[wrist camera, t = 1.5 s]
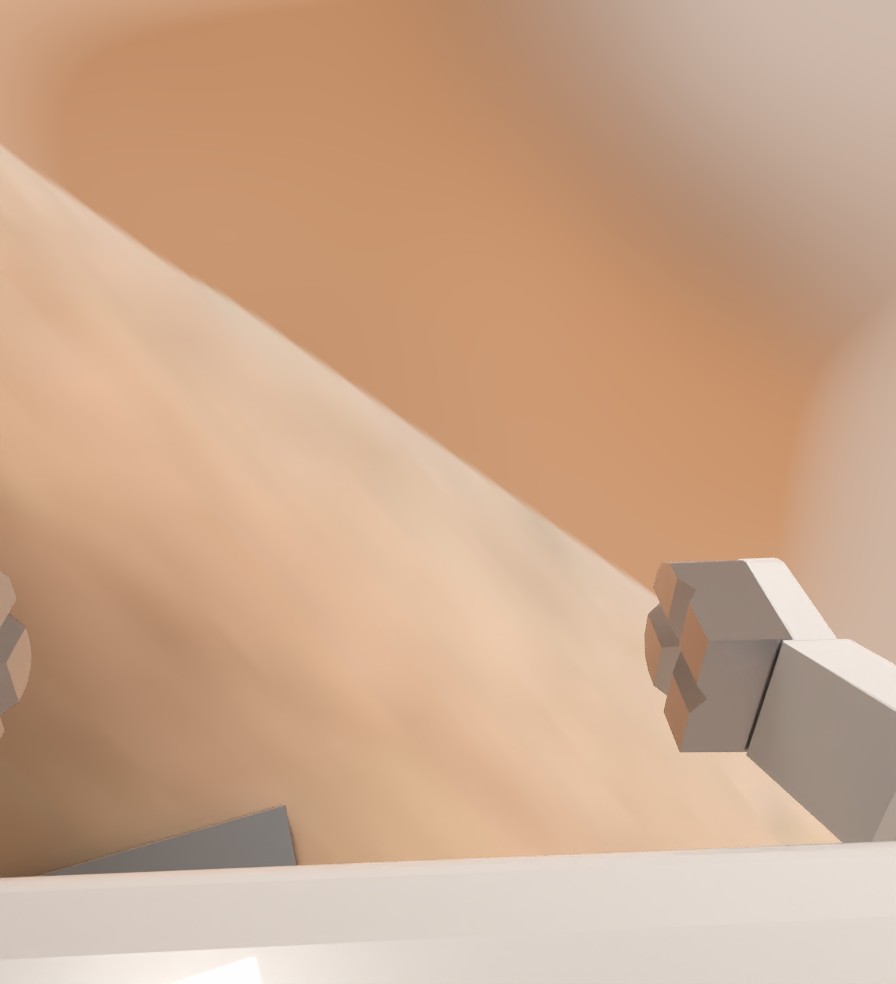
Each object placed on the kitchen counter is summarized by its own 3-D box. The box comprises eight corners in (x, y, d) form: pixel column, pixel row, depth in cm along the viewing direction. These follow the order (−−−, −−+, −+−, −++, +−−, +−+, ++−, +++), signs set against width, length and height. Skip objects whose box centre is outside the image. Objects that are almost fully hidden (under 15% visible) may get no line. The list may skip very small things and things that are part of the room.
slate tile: (5, 1137, 35) (3, 1146, 35) (-19, 891, 38) (-22, 893, 37) (319, 1010, 42) (324, 1015, 41) (281, 805, 44) (285, 805, 43)
